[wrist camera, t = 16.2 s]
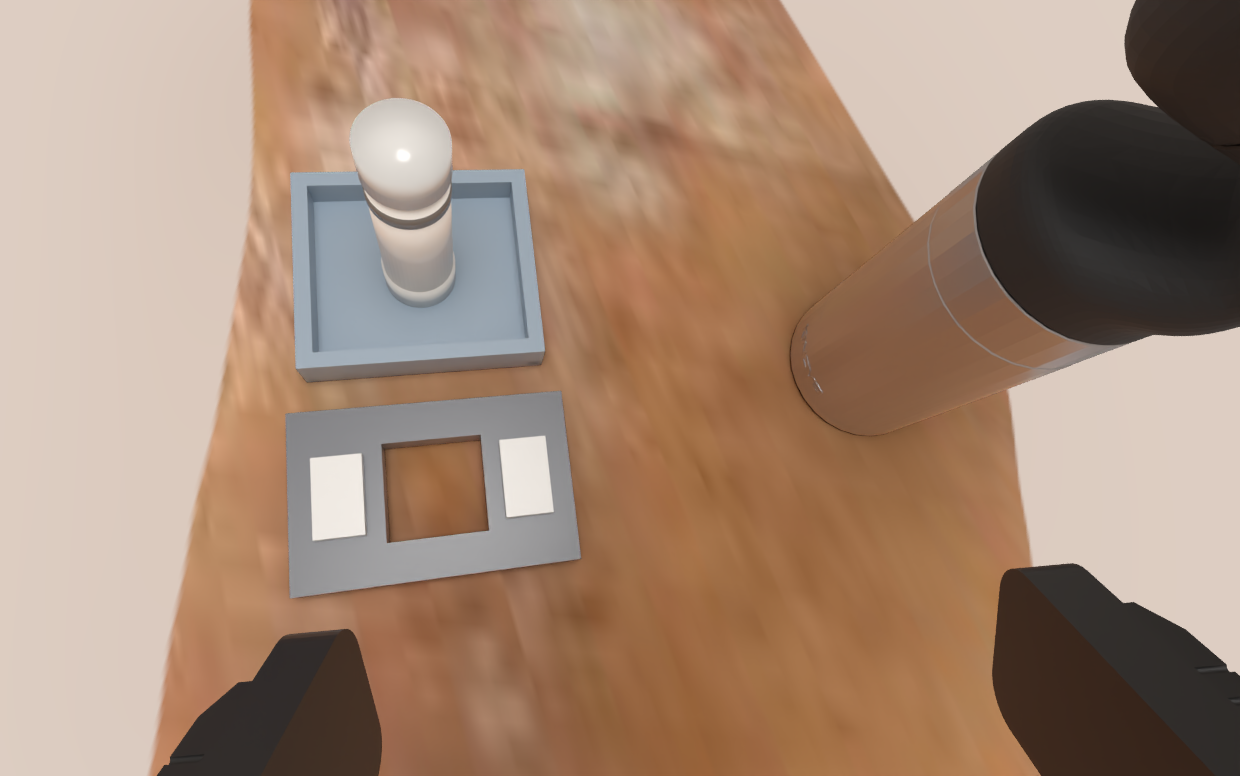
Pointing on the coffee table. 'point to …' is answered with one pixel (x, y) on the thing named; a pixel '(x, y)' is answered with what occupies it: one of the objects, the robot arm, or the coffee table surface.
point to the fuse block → (358, 506)
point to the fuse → (408, 196)
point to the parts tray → (385, 327)
